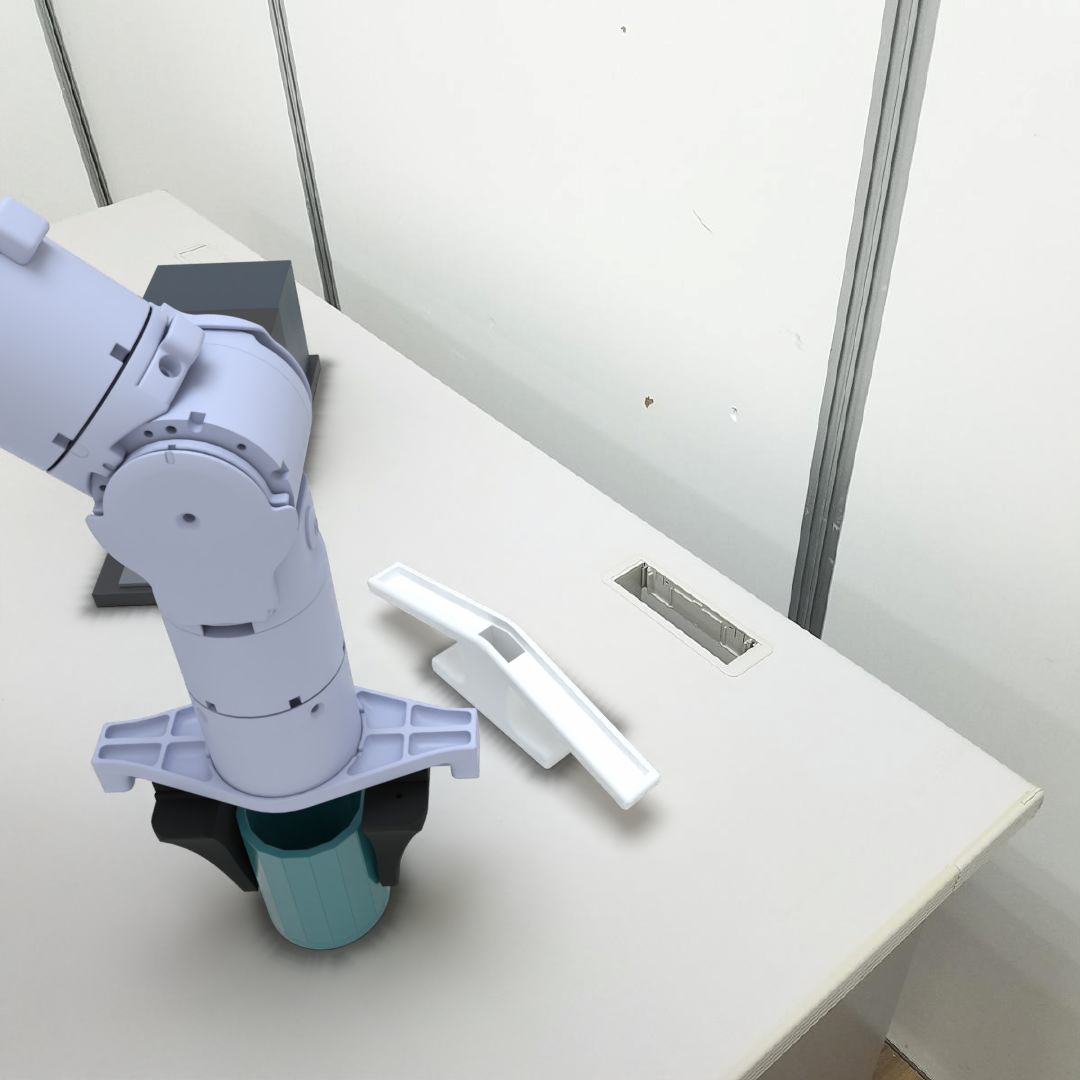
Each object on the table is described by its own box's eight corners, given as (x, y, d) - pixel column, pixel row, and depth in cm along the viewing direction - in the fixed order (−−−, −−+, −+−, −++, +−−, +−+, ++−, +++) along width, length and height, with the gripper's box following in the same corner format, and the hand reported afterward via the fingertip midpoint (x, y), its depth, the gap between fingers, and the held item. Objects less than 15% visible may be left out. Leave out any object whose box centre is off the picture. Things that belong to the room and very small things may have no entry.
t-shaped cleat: (428, 581, 66) (418, 509, 62) (685, 790, 55) (692, 717, 51) (371, 616, 64) (358, 543, 60) (626, 840, 53) (629, 767, 49)
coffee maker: (271, 600, 65) (234, 461, 59) (95, 607, 65) (39, 468, 58) (321, 365, 83) (297, 239, 77) (184, 370, 83) (149, 245, 77)
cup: (286, 969, 48) (254, 878, 44) (256, 868, 52) (223, 774, 47) (406, 920, 50) (388, 827, 45) (369, 825, 54) (348, 730, 49)
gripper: (470, 571, 44) (491, 786, 53) (91, 586, 44) (176, 798, 53) (466, 715, 38) (490, 926, 47) (35, 732, 38) (140, 940, 47)
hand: (324, 868), depth 50 cm, fingers closed on cup, 5 cm apart
